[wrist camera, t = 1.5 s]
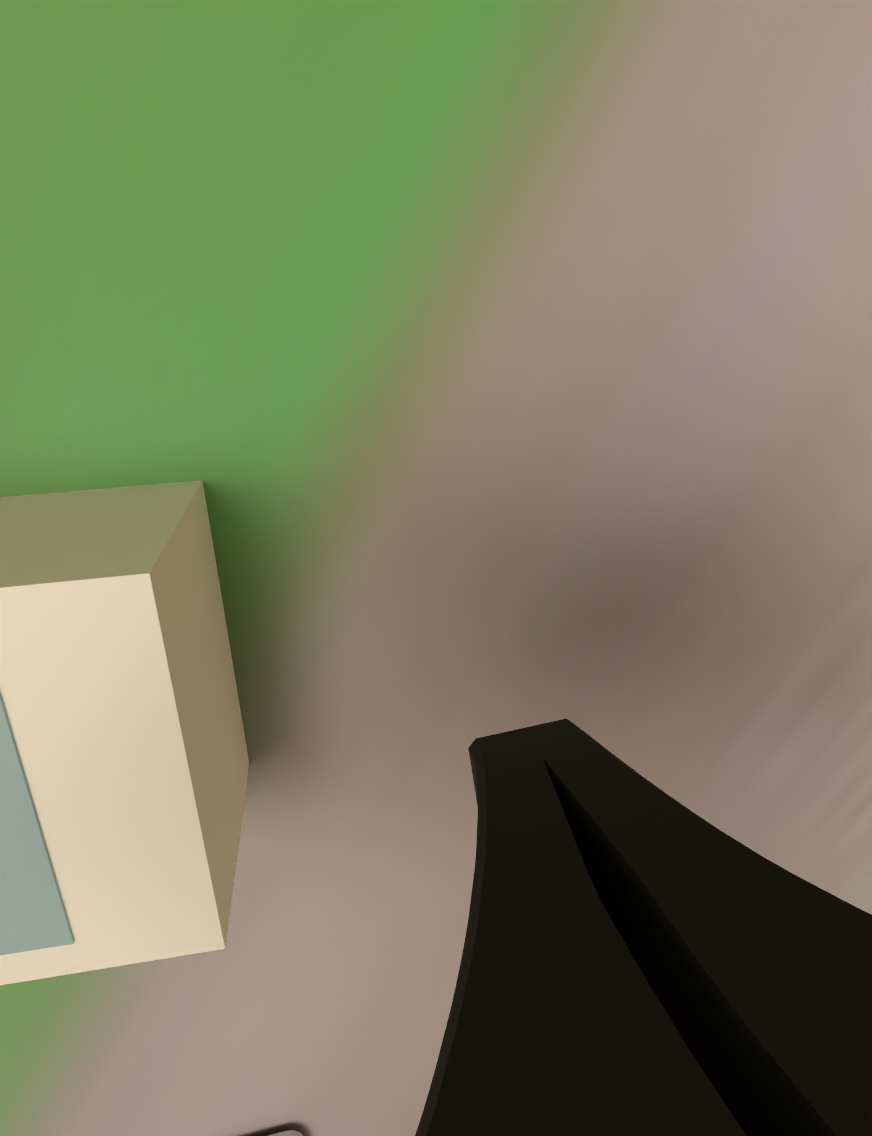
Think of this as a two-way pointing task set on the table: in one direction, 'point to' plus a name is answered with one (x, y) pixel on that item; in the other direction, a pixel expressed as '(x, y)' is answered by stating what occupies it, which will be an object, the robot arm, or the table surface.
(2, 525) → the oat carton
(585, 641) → the table surface
